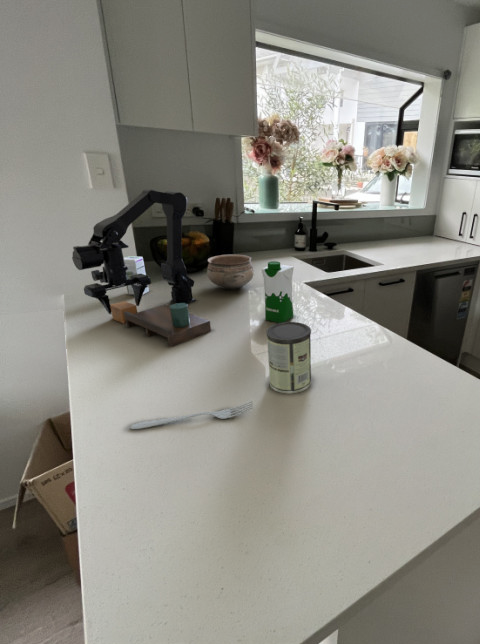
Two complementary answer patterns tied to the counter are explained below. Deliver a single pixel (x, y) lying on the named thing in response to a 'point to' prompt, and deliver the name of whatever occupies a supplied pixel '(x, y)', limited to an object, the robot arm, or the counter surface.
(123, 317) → the kraft box
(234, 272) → the cooking pot
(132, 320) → the shelf
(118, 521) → the counter surface
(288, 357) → the coffee can
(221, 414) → the fork
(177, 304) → the tea tin
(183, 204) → the robot arm
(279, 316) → the milk carton
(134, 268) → the syrup box
